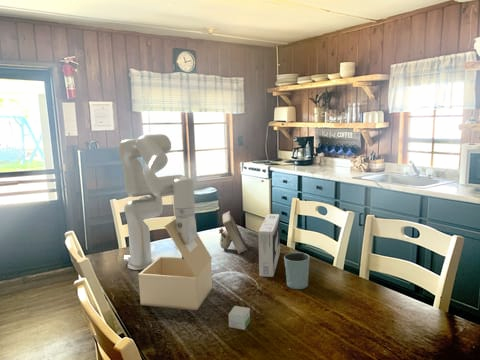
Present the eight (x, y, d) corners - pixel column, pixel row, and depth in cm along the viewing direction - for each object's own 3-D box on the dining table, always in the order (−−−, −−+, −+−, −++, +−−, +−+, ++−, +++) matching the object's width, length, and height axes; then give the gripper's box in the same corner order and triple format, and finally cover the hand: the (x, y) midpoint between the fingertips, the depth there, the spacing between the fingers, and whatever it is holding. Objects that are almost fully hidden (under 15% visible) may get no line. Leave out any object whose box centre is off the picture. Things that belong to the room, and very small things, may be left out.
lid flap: (164, 226, 128) (165, 225, 128) (183, 213, 146) (185, 213, 146) (195, 277, 129) (196, 276, 129) (211, 259, 146) (212, 258, 146)
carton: (140, 305, 136) (138, 274, 134) (161, 284, 153) (160, 256, 151) (197, 310, 131) (195, 278, 129) (212, 288, 148) (211, 259, 146)
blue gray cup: (314, 283, 149) (314, 255, 147) (300, 292, 142) (300, 263, 140) (293, 277, 156) (293, 250, 154) (279, 285, 149) (278, 257, 147)
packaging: (273, 277, 157) (272, 231, 154) (259, 276, 158) (258, 231, 155) (280, 252, 186) (279, 214, 183) (268, 251, 188) (267, 213, 185)
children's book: (225, 251, 203) (208, 219, 200) (245, 240, 203) (229, 209, 200) (227, 263, 183) (209, 228, 180) (249, 251, 184) (231, 217, 181)
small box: (244, 330, 117) (244, 316, 117) (228, 327, 119) (227, 313, 119) (250, 321, 123) (250, 307, 122) (234, 318, 125) (234, 305, 124)
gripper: (186, 216, 127) (188, 267, 130) (201, 206, 142) (202, 252, 145) (166, 216, 129) (169, 265, 132) (182, 206, 144) (185, 251, 147)
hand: (186, 258), depth 138 cm, fingers closed
